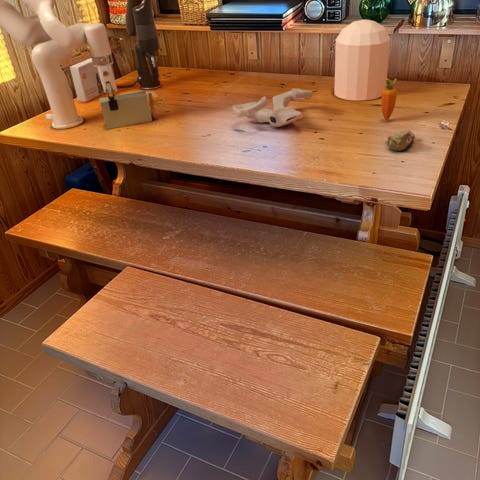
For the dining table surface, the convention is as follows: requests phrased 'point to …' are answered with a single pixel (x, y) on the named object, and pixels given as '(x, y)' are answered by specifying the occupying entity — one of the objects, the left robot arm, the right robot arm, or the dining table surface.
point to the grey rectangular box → (126, 110)
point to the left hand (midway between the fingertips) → (114, 107)
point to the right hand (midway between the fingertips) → (156, 83)
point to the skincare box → (86, 80)
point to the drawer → (155, 103)
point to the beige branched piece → (280, 112)
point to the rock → (400, 140)
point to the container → (361, 61)
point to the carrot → (388, 99)
